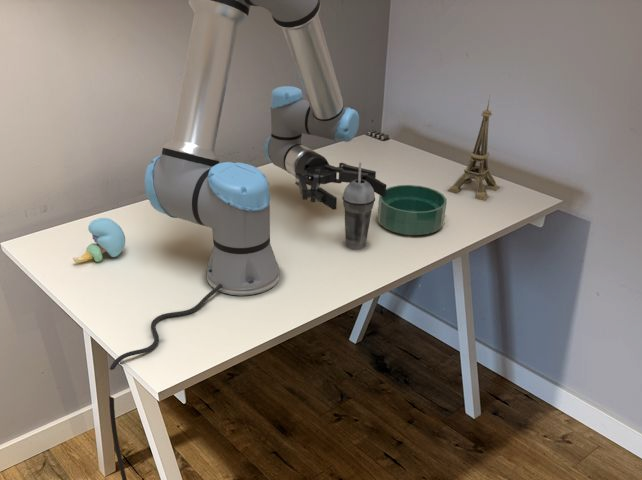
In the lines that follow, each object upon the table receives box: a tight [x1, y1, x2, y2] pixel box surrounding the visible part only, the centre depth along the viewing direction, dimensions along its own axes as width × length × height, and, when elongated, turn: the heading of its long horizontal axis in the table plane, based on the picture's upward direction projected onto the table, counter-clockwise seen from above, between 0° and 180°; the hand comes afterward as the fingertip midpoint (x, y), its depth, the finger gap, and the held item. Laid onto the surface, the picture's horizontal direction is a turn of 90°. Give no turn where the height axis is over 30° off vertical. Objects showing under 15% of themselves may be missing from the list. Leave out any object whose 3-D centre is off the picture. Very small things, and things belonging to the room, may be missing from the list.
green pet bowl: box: [376, 184, 447, 236], centre depth 164 cm, size 16×16×6 cm
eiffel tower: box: [447, 95, 500, 201], centre depth 176 cm, size 11×11×25 cm
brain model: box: [72, 217, 126, 264], centre depth 147 cm, size 7×9×12 cm
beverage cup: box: [341, 162, 376, 251], centre depth 150 cm, size 7×7×20 cm
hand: (360, 197), depth 149 cm, fingers open, 13 cm apart
